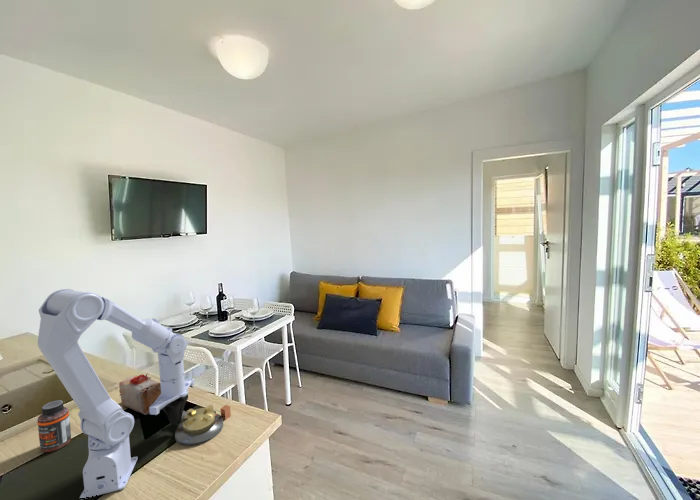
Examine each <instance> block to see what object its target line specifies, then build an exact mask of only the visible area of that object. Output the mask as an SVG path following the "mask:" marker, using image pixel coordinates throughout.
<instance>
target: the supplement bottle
mask: <svg viewBox="0 0 700 500" xmlns="http://www.w3.org/2000/svg"><path fill="white" fill-rule="evenodd" d="M70 421H71V419H70V410H69V408H68V407H67V406H64V401H63V400H61V399H60V400H59V399H57V400H53V401H50V402H47V403H46V404H44V405H43V406H42V407H41V414H39V416H38V418H37V431H38V439H39V449H40V452H42V453H51V452H55V451H58V450H60V449H61V448H64V447H65V446H67V445H68V444H70V442H71V440H72V432H71V431H72V429H71V422H70Z"/></svg>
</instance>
